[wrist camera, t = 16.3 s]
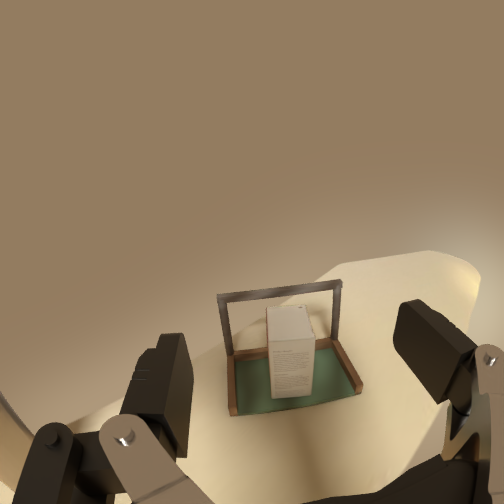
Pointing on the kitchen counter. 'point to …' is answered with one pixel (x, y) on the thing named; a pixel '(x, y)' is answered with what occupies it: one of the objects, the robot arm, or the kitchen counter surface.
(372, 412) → the kitchen counter surface
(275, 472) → the kitchen counter surface
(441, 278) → the kitchen counter surface
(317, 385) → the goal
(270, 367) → the small box
